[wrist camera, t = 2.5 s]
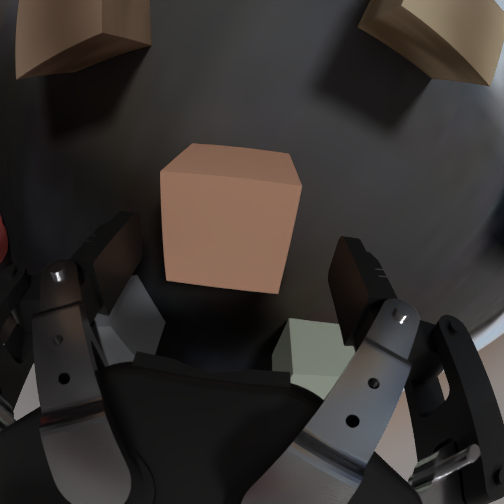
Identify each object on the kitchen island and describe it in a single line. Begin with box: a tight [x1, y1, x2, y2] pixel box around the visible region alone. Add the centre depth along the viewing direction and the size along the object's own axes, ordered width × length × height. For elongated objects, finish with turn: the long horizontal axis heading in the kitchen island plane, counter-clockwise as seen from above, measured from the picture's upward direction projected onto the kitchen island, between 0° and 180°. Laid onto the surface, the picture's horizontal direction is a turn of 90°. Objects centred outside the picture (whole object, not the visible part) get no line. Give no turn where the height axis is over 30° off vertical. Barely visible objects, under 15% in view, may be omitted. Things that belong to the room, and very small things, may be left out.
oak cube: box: [358, 0, 504, 86], centre depth 6 cm, size 5×5×5 cm
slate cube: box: [95, 275, 166, 365], centre depth 18 cm, size 5×5×5 cm
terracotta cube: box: [160, 144, 302, 294], centre depth 13 cm, size 5×5×5 cm
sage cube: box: [272, 318, 355, 400], centre depth 20 cm, size 5×5×5 cm
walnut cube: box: [16, 0, 152, 79], centre depth 7 cm, size 5×5×5 cm
